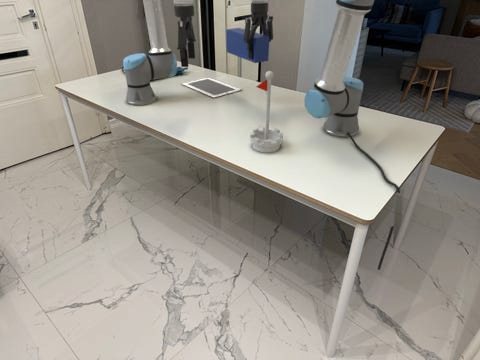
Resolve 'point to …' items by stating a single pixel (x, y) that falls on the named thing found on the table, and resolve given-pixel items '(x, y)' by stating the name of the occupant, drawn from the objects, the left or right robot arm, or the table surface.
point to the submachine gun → (180, 70)
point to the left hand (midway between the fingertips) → (188, 62)
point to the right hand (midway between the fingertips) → (258, 57)
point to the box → (240, 47)
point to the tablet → (211, 87)
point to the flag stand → (266, 124)
